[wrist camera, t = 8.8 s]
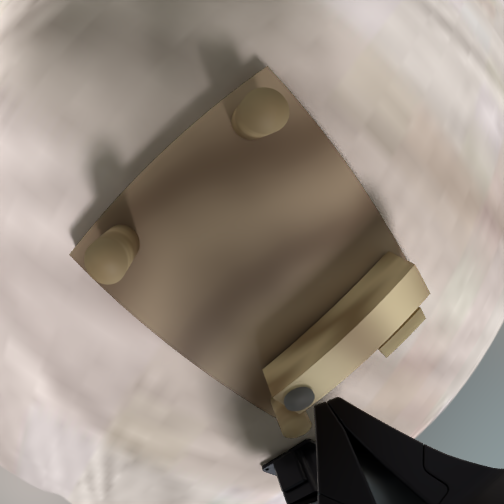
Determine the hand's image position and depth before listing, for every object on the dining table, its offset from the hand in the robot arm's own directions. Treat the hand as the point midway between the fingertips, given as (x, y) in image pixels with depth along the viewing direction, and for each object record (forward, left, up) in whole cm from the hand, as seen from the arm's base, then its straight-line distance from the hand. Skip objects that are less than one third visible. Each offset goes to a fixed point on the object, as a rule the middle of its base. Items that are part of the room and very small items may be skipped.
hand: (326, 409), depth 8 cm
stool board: (-1, -1, -12) cm, 12 cm away
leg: (-6, -2, -10) cm, 12 cm away
